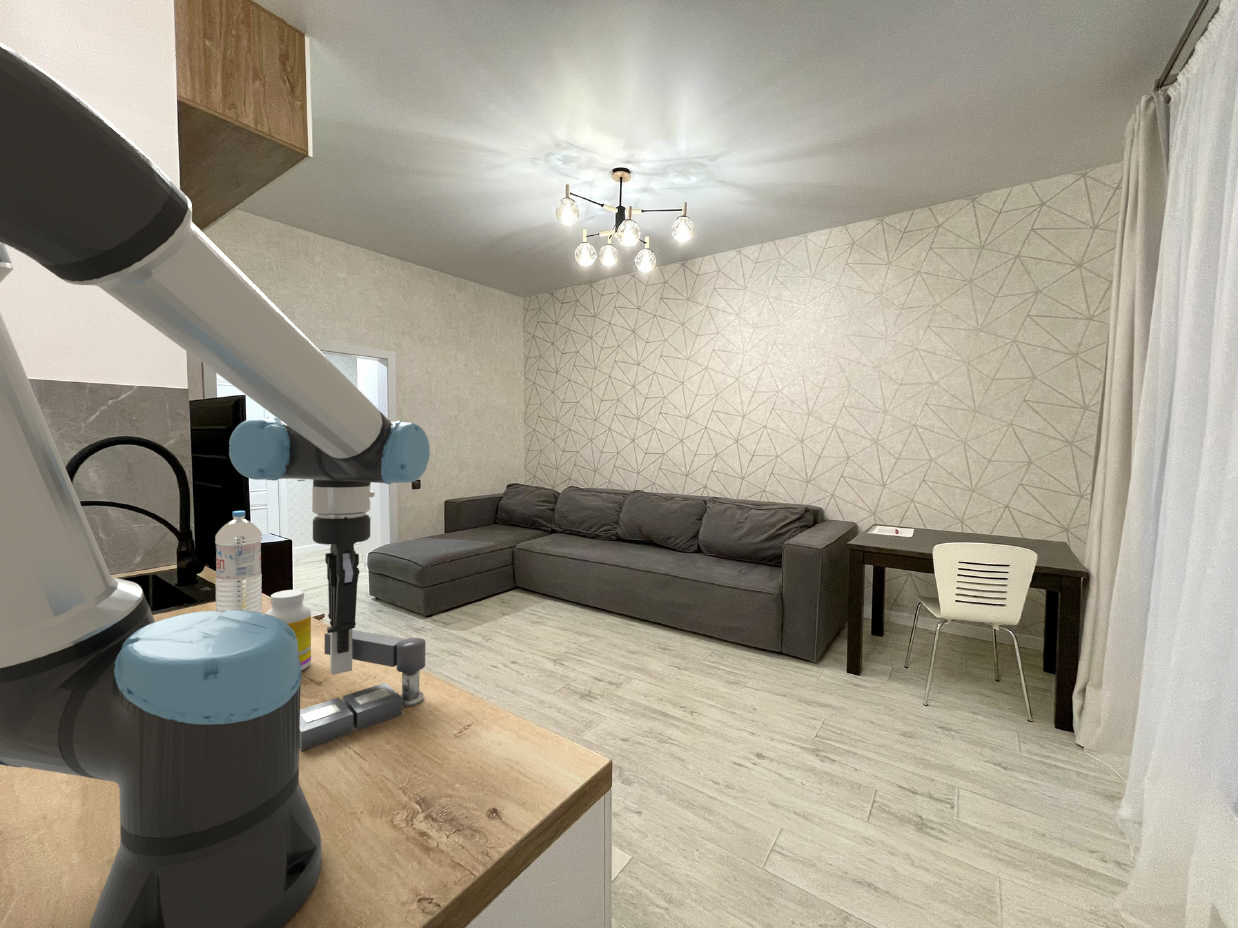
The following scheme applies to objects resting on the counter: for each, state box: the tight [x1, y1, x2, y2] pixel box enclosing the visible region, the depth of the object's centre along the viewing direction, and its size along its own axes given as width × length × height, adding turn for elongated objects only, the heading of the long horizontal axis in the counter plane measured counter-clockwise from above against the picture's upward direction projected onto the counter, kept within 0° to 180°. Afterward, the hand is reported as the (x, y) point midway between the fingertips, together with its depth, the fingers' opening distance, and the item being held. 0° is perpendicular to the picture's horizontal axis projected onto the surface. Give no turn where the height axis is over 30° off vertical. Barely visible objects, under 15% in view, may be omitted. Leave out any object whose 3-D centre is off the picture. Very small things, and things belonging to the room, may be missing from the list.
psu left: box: [299, 696, 354, 752], centre depth 67 cm, size 6×6×3 cm
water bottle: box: [214, 510, 263, 613], centre depth 93 cm, size 7×7×25 cm
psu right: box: [341, 682, 403, 732], centre depth 72 cm, size 6×6×3 cm
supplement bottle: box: [265, 589, 312, 672], centre depth 84 cm, size 7×7×13 cm
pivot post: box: [399, 670, 424, 708], centre depth 75 cm, size 4×4×5 cm
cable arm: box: [324, 629, 427, 673], centre depth 77 cm, size 17×4×4 cm, turn 73°
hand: (341, 671), depth 75 cm, fingers closed
